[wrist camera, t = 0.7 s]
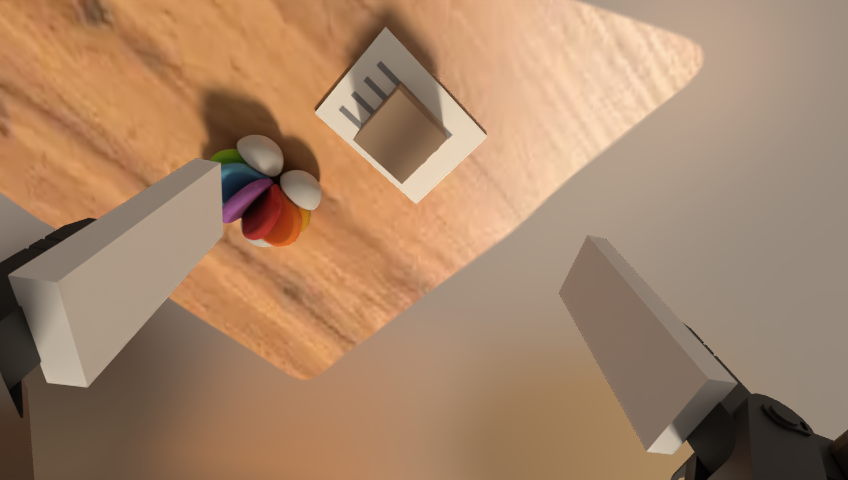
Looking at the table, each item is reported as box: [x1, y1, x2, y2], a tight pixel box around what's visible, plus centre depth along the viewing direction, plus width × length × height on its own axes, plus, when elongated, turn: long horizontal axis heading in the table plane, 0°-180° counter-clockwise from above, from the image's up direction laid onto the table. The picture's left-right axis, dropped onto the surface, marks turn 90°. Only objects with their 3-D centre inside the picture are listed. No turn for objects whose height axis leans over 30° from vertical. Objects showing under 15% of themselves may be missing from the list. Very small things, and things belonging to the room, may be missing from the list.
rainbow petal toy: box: [209, 135, 322, 247], centre depth 33 cm, size 8×10×7 cm
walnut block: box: [353, 81, 447, 184], centre depth 31 cm, size 5×5×5 cm
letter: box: [315, 27, 487, 204], centre depth 33 cm, size 12×9×1 cm
